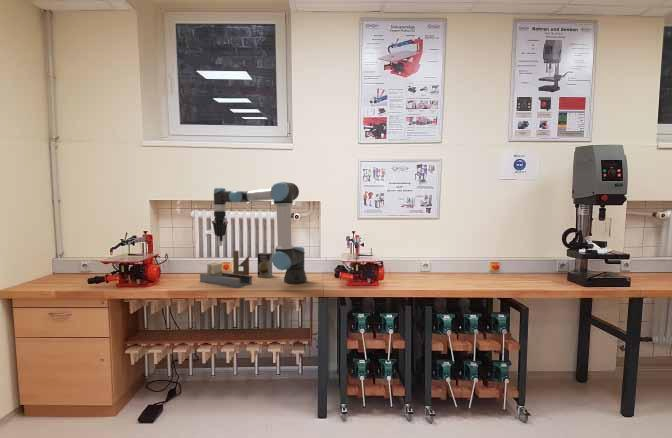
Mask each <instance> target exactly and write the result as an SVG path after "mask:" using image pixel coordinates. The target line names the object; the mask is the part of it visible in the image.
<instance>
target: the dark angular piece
mask: <svg viewBox="0 0 672 438" xmlns="http://www.w3.org/2000/svg"><path fill="white" fill-rule="evenodd" d="M239 253H240V251H239V250H233V252H232V255H233V256H232V258H233V259H232V260H233V261H232V263H233V264H232V266H233V271H232V273H233V274H239V275H250V256H249V255H248V256H247V257H246V258H245V259H244V260H243V261H242V262H241V263H240V260H239V256H240V255H239ZM239 263H240V264H239ZM239 267H241V268H243V270H240V268H239Z"/></svg>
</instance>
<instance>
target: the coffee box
mask: <svg viewBox="0 0 672 438" xmlns="http://www.w3.org/2000/svg"><path fill="white" fill-rule="evenodd" d="M272 257H273V253H270V252H269V253H267V252H260V253H257V277H258V278H259V277H260V278H271V277H272V276H273V262H272Z"/></svg>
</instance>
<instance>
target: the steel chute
mask: <svg viewBox="0 0 672 438" xmlns="http://www.w3.org/2000/svg"><path fill="white" fill-rule="evenodd" d="M252 277H253V276H252V275H250V274H249V275H239V274H233V272H232V273H231V272H225V271H224V272H223V271H222V276H217V275H211V274H207V273H205V272H202V273H200V274H199V281H200V282H203V283H208V284H213V285H218V284H220V285H219V286H224V285H225V287H230V286H231V287H232V288H237V289H239V288H243V287H246V285H247V286H249V284H250V285H252V284H253V283H252V281H253V280H252Z"/></svg>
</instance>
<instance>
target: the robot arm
mask: <svg viewBox="0 0 672 438" xmlns="http://www.w3.org/2000/svg"><path fill="white" fill-rule="evenodd" d="M299 195H300V189H299V187H298V186H297V185H296V184H295V183H292V182H286V181H277V182H275V183H273V185H272V186H271V188H263V189H255V190H245V191H241V190H240V191H239V190H226V188H224V187H215V188H214V189H213V217H214V219H213V220H211V223H212V226H213V232H214V235H215V236H216V241H217V247H222V246H223V240H224V236H226V233H227V228H228V223H229V221H226V213H227V212H226V209H227V208H226V205H227V203H234V204H235V203H251V202H261V201H273V205H274V206H275V208H276V227H277V228H276V232H277V233H276V235H277V245H276V246H275V250H274V251H275V253H273V254H272V266H274V267H275V269H276V270H280V271H285V274H284V277H283V282H284V283H286V284H290V285H291V284H294V285H297V284H298V285H299V284H304V283H307V282H308V277H307V273H306V271H305V254H306V252H305V248H304V247H302V246H294V245H293V244H292V221H291V220H292V215H291V214H292V213H291V206H292V205H293V204H294V202H293V201H295V200H296V199H297V198H298V197H299Z"/></svg>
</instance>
